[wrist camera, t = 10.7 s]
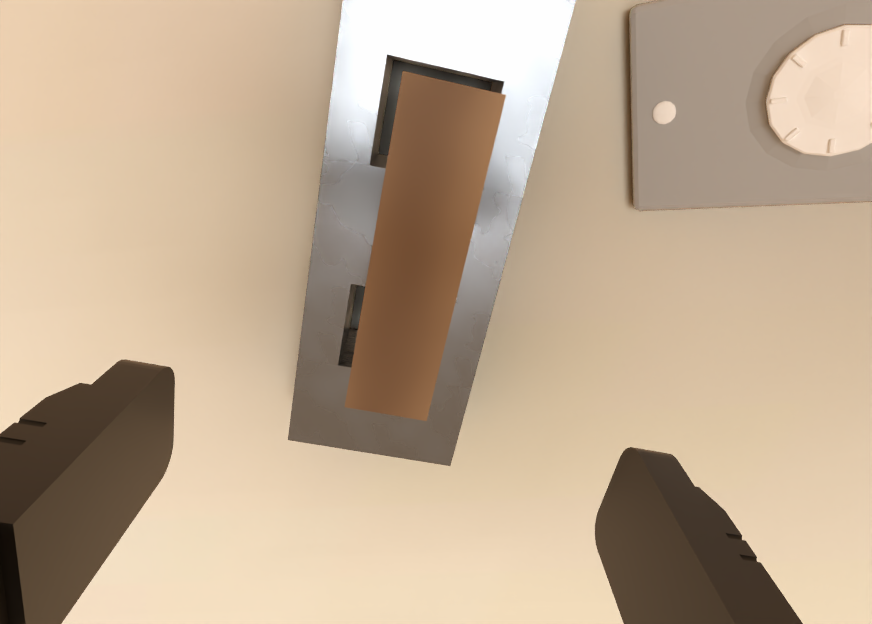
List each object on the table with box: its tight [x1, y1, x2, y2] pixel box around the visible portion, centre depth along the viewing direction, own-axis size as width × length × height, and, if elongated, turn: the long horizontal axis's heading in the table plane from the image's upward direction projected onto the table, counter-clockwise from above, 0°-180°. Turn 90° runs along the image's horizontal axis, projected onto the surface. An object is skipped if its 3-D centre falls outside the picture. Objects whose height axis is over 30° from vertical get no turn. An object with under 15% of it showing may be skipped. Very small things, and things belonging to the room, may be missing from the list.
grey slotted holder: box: [288, 0, 576, 466], centre depth 24 cm, size 8×22×4 cm, turn 168°
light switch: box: [629, 0, 872, 211], centre depth 22 cm, size 8×6×14 cm
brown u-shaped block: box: [345, 71, 506, 421], centre depth 22 cm, size 3×12×8 cm, turn 168°
